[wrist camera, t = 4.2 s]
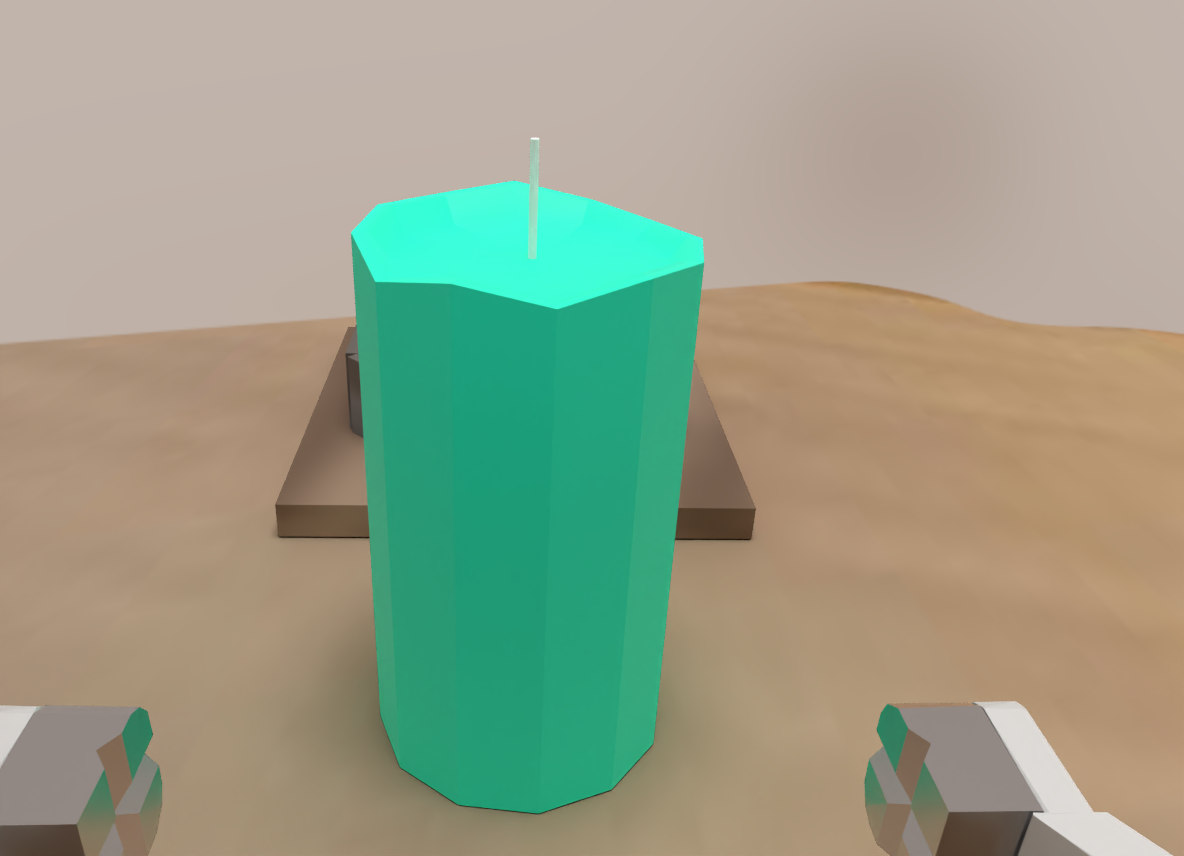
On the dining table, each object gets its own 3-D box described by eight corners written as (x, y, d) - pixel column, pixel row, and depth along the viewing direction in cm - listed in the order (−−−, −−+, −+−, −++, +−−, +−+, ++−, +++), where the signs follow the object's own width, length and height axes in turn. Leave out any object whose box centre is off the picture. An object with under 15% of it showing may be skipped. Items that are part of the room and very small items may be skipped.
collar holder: (278, 536, 27) (266, 420, 25) (349, 351, 38) (344, 264, 37) (751, 539, 28) (767, 428, 26) (681, 358, 39) (690, 273, 38)
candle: (382, 626, 23) (353, 104, 18) (628, 609, 25) (669, 111, 19) (377, 830, 18) (334, 178, 13) (690, 797, 19) (772, 184, 14)
